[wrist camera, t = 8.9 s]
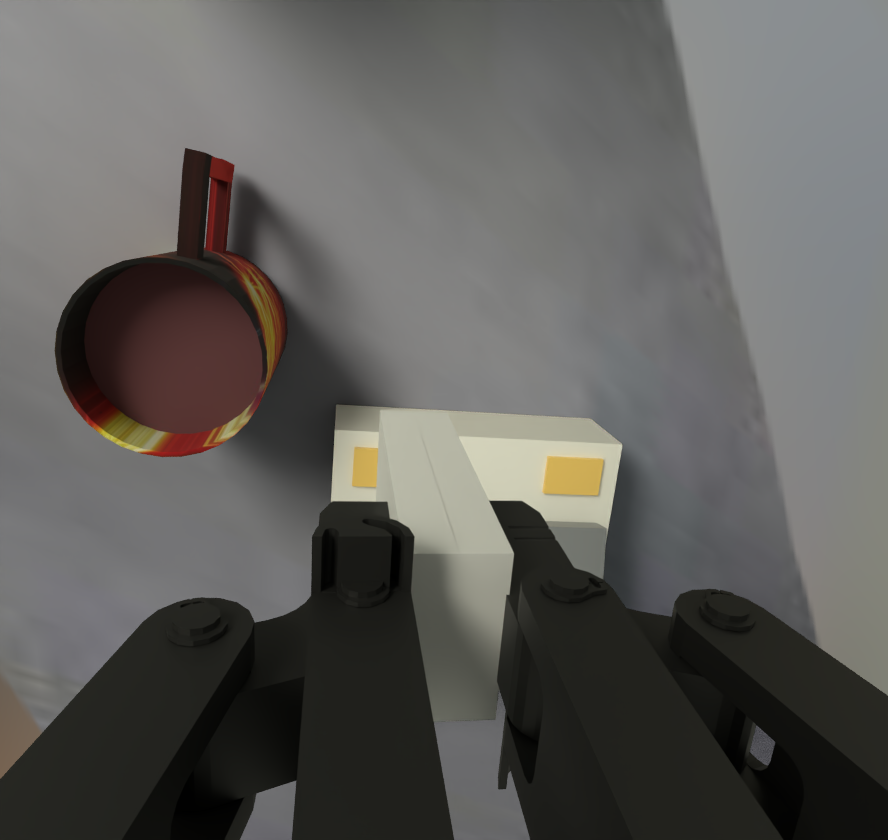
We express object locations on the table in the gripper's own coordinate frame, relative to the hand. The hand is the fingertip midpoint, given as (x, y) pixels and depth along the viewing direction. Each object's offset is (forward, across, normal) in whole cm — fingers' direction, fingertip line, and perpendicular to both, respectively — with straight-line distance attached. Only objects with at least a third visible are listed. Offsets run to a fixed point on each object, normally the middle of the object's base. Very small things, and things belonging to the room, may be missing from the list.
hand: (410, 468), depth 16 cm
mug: (+31, -10, -1) cm, 33 cm away
